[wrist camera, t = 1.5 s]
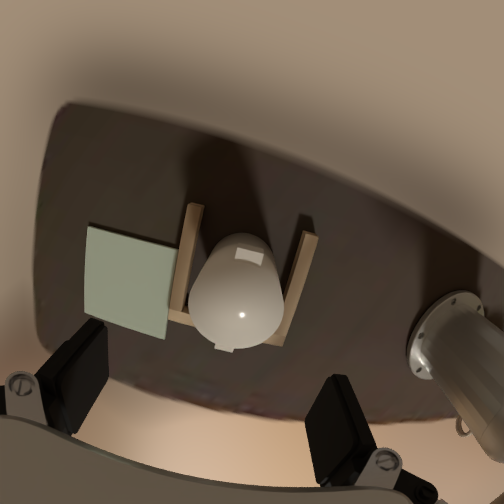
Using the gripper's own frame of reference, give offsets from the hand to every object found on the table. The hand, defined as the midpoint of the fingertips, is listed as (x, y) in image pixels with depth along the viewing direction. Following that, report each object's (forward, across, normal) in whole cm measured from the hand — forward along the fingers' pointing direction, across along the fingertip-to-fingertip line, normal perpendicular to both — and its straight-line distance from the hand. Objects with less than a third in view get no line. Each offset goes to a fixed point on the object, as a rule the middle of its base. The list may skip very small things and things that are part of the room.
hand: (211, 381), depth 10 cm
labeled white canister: (+16, -1, 0) cm, 16 cm away
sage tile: (+16, +10, +5) cm, 20 cm away
